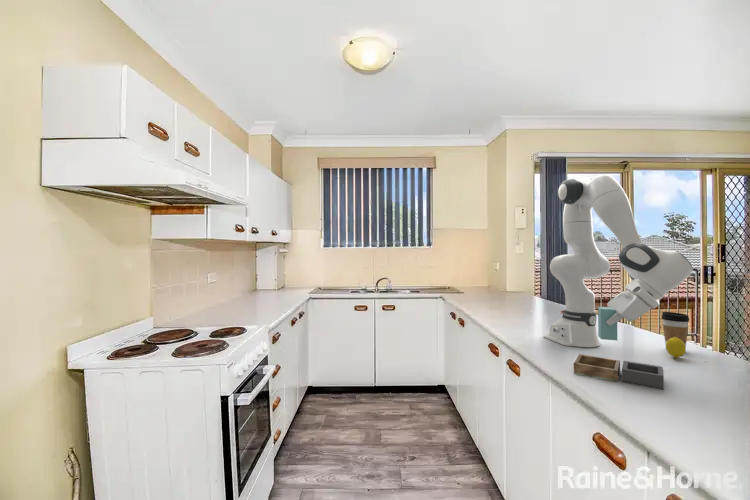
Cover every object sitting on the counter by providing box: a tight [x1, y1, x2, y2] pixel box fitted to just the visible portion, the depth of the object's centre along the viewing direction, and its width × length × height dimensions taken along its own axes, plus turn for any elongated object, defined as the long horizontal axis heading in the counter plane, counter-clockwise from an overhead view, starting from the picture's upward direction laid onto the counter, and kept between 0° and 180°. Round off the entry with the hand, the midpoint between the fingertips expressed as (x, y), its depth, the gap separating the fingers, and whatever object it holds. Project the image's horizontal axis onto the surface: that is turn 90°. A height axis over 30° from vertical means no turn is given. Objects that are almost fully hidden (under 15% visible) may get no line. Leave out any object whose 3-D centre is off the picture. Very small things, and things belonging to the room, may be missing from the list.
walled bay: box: [573, 353, 621, 383], centre depth 115 cm, size 12×12×4 cm
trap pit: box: [621, 360, 665, 391], centre depth 107 cm, size 10×10×4 cm
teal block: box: [597, 306, 618, 341], centre depth 114 cm, size 4×4×10 cm
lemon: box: [665, 337, 687, 359], centre depth 128 cm, size 6×6×8 cm
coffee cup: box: [661, 311, 690, 352], centre depth 137 cm, size 8×8×15 cm
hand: (605, 321), depth 114 cm, fingers closed on teal block, 4 cm apart
